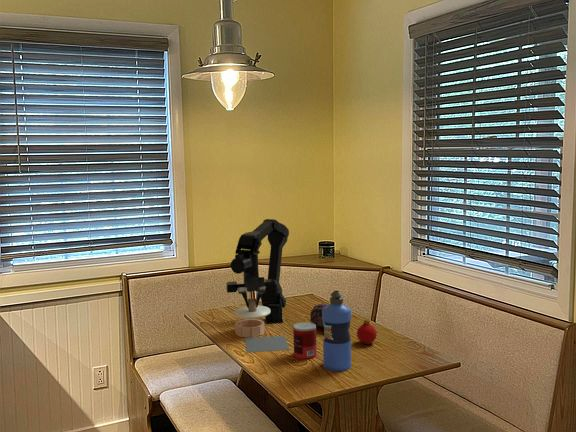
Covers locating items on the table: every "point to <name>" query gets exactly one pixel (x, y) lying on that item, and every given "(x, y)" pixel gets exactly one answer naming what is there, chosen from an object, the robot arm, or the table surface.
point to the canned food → (304, 340)
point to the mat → (266, 344)
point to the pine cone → (317, 315)
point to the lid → (252, 310)
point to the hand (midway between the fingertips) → (252, 307)
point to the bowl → (249, 328)
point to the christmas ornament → (366, 332)
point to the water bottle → (336, 334)
